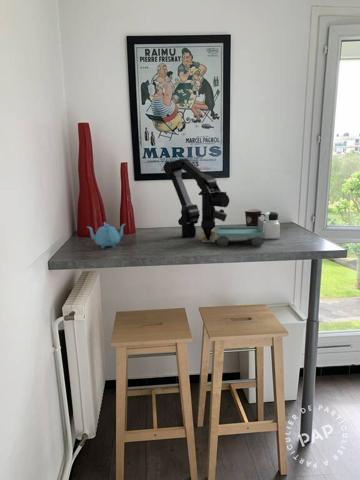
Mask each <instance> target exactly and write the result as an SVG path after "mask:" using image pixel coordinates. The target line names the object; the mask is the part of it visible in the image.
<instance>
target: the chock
mask: <svg viewBox="0 0 360 480" xmlns="http://www.w3.org/2000/svg"><path fill="white" fill-rule="evenodd" d="M215 232H216V230H215V228H213V229H212V230H211V235H210V240H207V238H206V236H205V234H204V231H203V229H201V242H202V243H215V242H216V233H215Z"/></svg>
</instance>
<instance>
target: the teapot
mask: <svg viewBox="0 0 360 480" xmlns="http://www.w3.org/2000/svg"><path fill="white" fill-rule="evenodd" d="M125 225H126V223H122V224H121V225H120V229H119V230H120V231H118V230H117V229H116V228H115V227H114V226H112V225H110V224H109V223H107V222H106V221H104V222H103V226H100V227H99V228H98V229H97V231H96V232H95V234H94V230H93V228H92V227H91V226H87V228H88V230H89V232H90V238H91V239H92V240H93V241H94V242H95V244H97V245H98V246H100V249H105V248H106V247H108V246H109V247H110V246H111V248H116V247H117V246H116V245H117V244H119V243H120V241H121V238H122V237H123V236H124V227H125ZM104 247H105V248H104Z"/></svg>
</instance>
